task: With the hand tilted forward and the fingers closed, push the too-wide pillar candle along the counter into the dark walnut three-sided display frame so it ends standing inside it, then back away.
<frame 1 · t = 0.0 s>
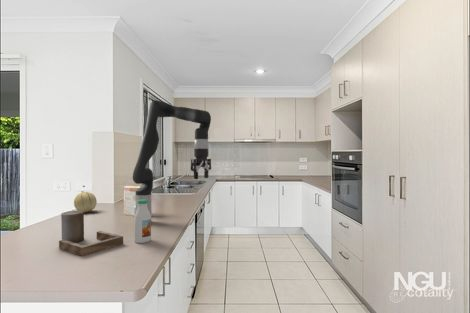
hand: (201, 178, 158), 29 cm above the countertop, tool pointing down, fingers open, 8 cm apart
milk bottle: (142, 241, 144), on the countertop
display frame: (90, 245, 137), on the countertop
cantaloupe: (85, 212, 212), on the countertop
pillar candle: (72, 240, 145), on the countertop
coffeecake box: (134, 215, 205), on the countertop
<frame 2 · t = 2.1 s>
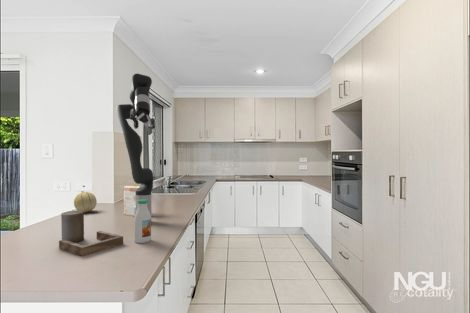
hand: (143, 131, 150), 54 cm above the countertop, tool tilted 30°, fingers open, 8 cm apart
nothing on the countertop moved.
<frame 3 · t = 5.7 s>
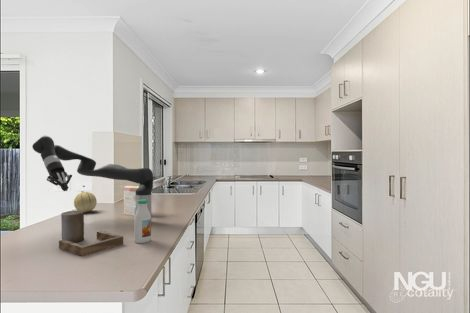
hand: (66, 190, 154), 23 cm above the countertop, tool tilted 45°, fingers closed
nothing on the countertop moved.
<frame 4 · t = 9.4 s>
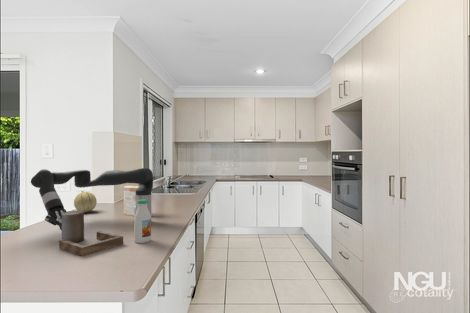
hand: (64, 230, 147), 4 cm above the countertop, tool tilted 45°, fingers closed
pillar candle: (72, 240, 145), on the countertop, touching gripper
everything else where it was.
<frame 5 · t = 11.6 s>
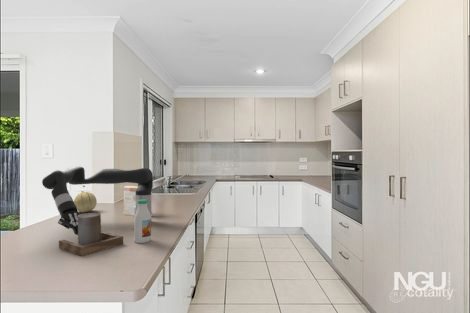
hand: (78, 233, 140), 4 cm above the countertop, tool tilted 45°, fingers closed
pillar candle: (89, 244, 139), on the countertop, touching gripper
everything else where it was.
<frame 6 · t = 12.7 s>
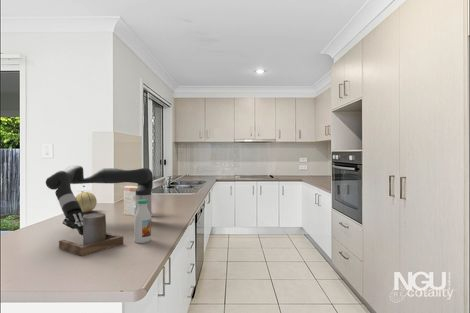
hand: (83, 234, 139), 5 cm above the countertop, tool tilted 45°, fingers closed
pillar candle: (94, 244, 138), on the countertop, touching gripper
everything else where it was.
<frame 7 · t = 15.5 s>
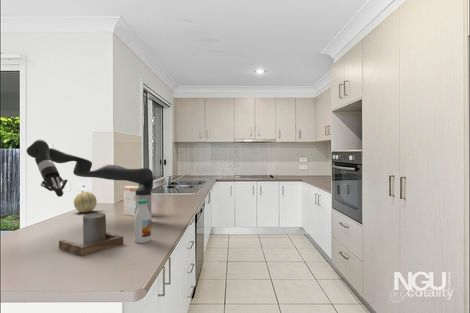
hand: (60, 195, 150), 21 cm above the countertop, tool tilted 45°, fingers closed
pillar candle: (94, 244, 138), on the countertop
everything else where it was.
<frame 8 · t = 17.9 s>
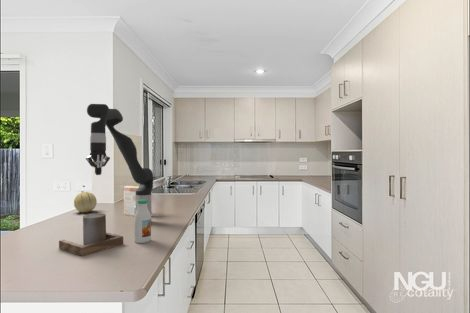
hand: (98, 174, 157), 31 cm above the countertop, tool pointing down, fingers closed
nothing on the countertop moved.
at the end: pillar candle inside the target area on the display frame (2.0 cm from its centre), point 0.0 cm above the display frame's base; pillar candle tilted 0°; pillar candle moved 14.9 cm from its start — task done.
